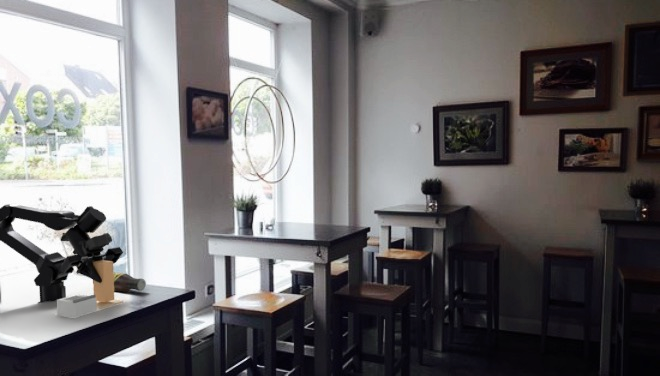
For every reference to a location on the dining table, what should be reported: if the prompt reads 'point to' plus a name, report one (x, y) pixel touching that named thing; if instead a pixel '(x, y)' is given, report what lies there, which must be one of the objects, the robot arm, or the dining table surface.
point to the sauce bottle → (127, 282)
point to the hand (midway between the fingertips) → (106, 280)
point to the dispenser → (82, 305)
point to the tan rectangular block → (104, 281)
